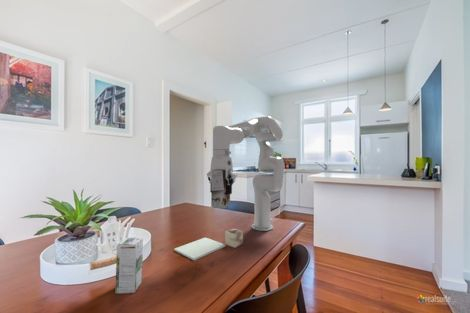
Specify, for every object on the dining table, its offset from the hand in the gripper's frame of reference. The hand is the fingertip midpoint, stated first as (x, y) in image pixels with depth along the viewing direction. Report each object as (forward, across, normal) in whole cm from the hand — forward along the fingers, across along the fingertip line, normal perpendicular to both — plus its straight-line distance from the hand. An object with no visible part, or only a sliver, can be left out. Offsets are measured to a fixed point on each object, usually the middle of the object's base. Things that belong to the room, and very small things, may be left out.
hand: (220, 193), depth 90 cm
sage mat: (+25, +9, +4) cm, 27 cm away
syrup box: (+26, +4, +37) cm, 45 cm away
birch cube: (+25, 0, -10) cm, 27 cm away
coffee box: (+6, 0, 0) cm, 6 cm away
